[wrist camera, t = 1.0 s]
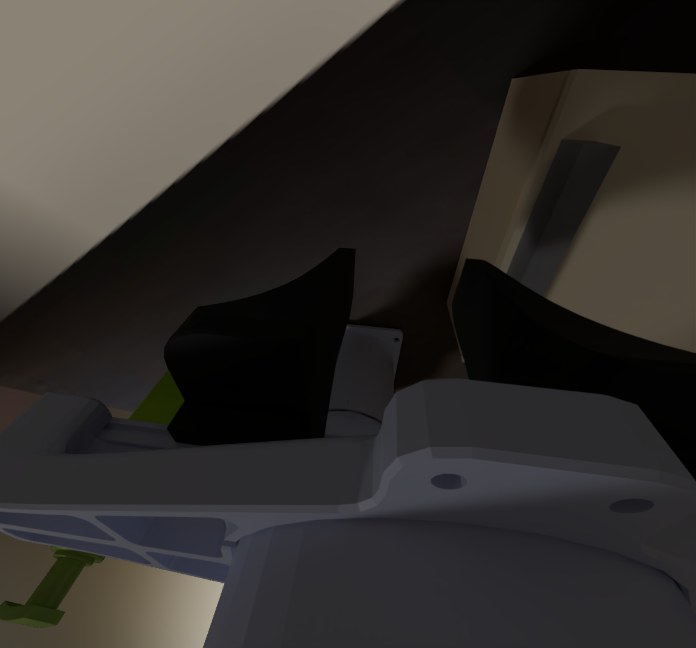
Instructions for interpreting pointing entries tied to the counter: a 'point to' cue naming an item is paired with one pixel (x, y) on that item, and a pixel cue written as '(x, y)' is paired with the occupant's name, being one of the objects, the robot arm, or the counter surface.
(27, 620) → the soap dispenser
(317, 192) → the counter surface
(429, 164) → the counter surface
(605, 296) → the carton lid
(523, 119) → the carton
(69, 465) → the robot arm
